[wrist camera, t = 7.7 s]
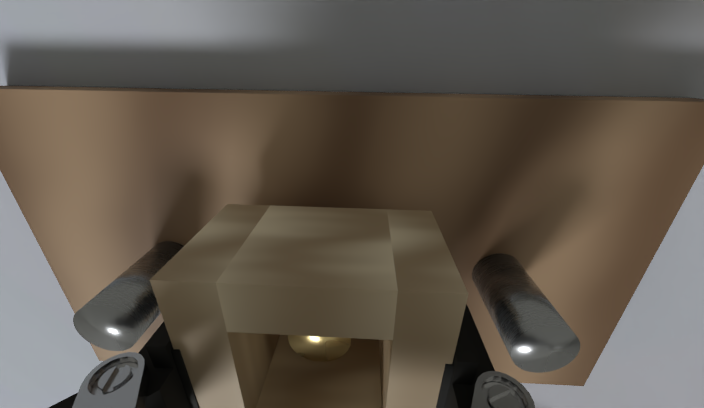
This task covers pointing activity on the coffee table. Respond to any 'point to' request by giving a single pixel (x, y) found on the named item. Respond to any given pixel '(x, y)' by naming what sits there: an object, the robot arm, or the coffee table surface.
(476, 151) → the board
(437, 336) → the frame
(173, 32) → the coffee table surface
